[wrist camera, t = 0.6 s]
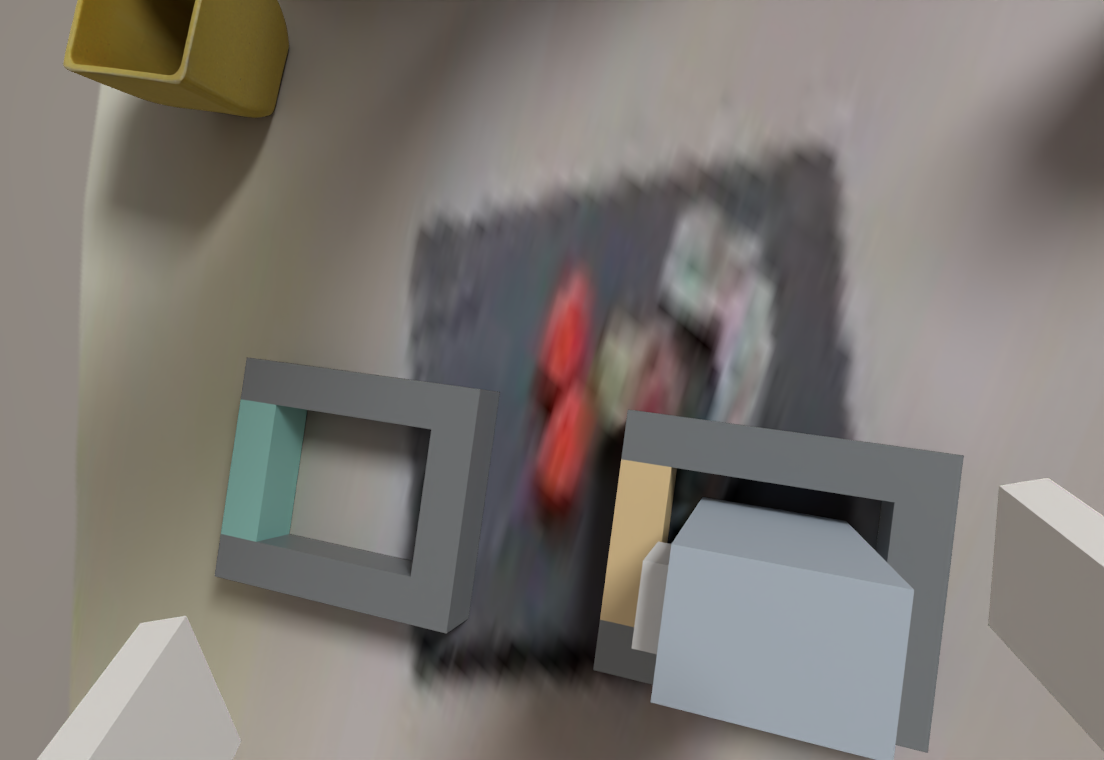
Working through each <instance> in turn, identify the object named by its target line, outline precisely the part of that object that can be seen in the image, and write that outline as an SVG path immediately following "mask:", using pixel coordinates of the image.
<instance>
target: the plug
mask: <svg viewBox="0 0 1104 760" xmlns="http://www.w3.org/2000/svg"><path fill="white" fill-rule="evenodd" d="M913 596H914V589H913V588H912V587H911V586H910V585H909V584H908V583H907V582H906V581H905V580H904V579H903V578H902V577H901V576H900V575H899V574H898V573H897V572H896V571H895V570H894V569H893V568H892V567H891V566H890V565H889V564H888V563H887V562H886V561H885V560H884V559H883V558H882V557H881V556H880V555H879V554H878V553H877V552H876V551H875V550H874V549H873V548H872V547H871V546H870V545H869V544H868V543H867V542H866V541H865V540H864V539H863V538H862V537H861V536H860V535H859V534H858V533H857V532H856V531H855V530H854V529H853V528H852V527H851V526H850V525H849V524H848V523H847V522H846V521H844V520H838V519H832V518H826V517H820V516H814V515H808V514H802V513H796V512H791V511H785V510H779V509H773V508H767V507H761V506H755V505H749V504H743V503H737V502H731V501H725V500H719V499H713V498H707V497H702V499H701V500H700V502H699V503H698V505H697V506H696V508H695V509H694V511H693V512H692V514H691V515H690V517H689V518H688V520H687V521H686V523H685V524H684V526H683V527H682V529H681V530H680V532H679V533H678V535H677V536H676V538H675V539H674V541H673V542H672V544H669V543H663V542H657V543H656V545H655V546H654V547H653V548H652V550H651V551H650V552H649V554H648V555H647V556H646V557H645V559H644V560H643V564H642V572H641V580H640V587H639V595H638V602H637V610H636V618H635V625H634V633H633V640H632V649H636V650H640V651H645V652H649V653H653V654H657V658H656V665H655V673H654V680H653V688H652V696H651V703H655V704H659V705H663V706H667V707H671V708H675V709H679V710H683V711H687V712H691V713H695V714H699V715H702V716H706V717H710V718H714V719H718V720H722V721H726V722H730V723H734V724H738V725H742V726H746V727H750V728H753V729H757V730H761V731H765V732H769V733H773V734H777V735H781V736H785V737H789V738H793V739H797V740H801V741H804V742H808V743H812V744H816V745H820V746H824V747H828V748H832V749H836V750H840V751H844V752H848V753H852V754H855V755H859V756H863V757H867V758H871V759H875V760H894V752H895V744H896V736H897V727H898V719H899V711H900V703H901V695H902V686H903V678H904V670H905V662H906V654H907V645H908V637H909V629H910V621H911V613H912V604H913Z"/></svg>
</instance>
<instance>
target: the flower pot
mask: <svg viewBox="0 0 1104 760" xmlns="http://www.w3.org/2000/svg"><path fill="white" fill-rule="evenodd" d="M288 48H289V40H288V33H287V28H286V23H285V19H284V16H283V13H282V10H281V8H280V5H279V3H278V1H277V0H78V1H77V5H76V9H75V13H74V18H73V22H72V26H71V30H70V35H69V39H68V43H67V47H66V52H65V58H64V67H65V68H66V69H67V70H69V71H72V72H74V73H77V74H79V75H82V76H84V77H87V78H89V79H92V80H94V81H97V82H99V83H102V84H104V85H107V86H110V87H112V88H115V89H117V90H120V91H122V92H125V93H128V94H130V95H133V96H136V97H138V98H141V99H144V100H147V101H150V102H154V103H158V104H162V105H167V106H173V107H179V108H187V109H196V110H204V111H211V112H219V113H226V114H233V115H239V116H244V117H254V118H257V117H264V116H268V115H271V114H272V112H273V111H274V108H275V104H276V99H277V95H278V91H279V86H280V82H281V77H282V73H283V69H284V65H285V61H286V57H287V53H288Z"/></svg>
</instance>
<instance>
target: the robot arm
mask: <svg viewBox="0 0 1104 760" xmlns="http://www.w3.org/2000/svg"><path fill="white" fill-rule="evenodd" d="M988 625H989V626H990V627H991V629H992V630H993V631H994V632H995V633H996V634H997V635H998V636H999V637H1000V638H1001V640H1002V641H1003V642H1004V643H1005V644H1006V645H1007V646H1008V647H1009V648H1010V649H1011V651H1012V652H1013V653H1014V654H1015V655H1016V656H1017V657H1018V658H1019V659H1020V660H1021V661H1022V663H1023V664H1024V665H1025V666H1026V667H1027V668H1028V669H1029V670H1030V671H1031V672H1032V674H1033V675H1034V676H1035V677H1036V678H1037V679H1038V680H1039V681H1040V682H1041V683H1042V685H1043V686H1044V687H1045V688H1046V689H1047V690H1048V691H1049V692H1050V693H1051V694H1052V695H1053V697H1054V698H1055V699H1056V700H1057V701H1058V702H1059V703H1060V704H1061V705H1062V706H1063V708H1064V709H1065V710H1066V711H1067V712H1068V713H1069V714H1070V715H1071V716H1072V717H1073V719H1074V720H1075V721H1076V722H1077V723H1078V724H1079V725H1080V726H1081V727H1082V728H1083V729H1084V731H1085V732H1086V733H1087V734H1088V735H1089V736H1090V737H1091V738H1092V739H1093V740H1094V742H1095V743H1096V744H1097V745H1098V746H1099V747H1100V748H1101V749H1102V750H1103V751H1104V516H1103V515H1101V514H1100V513H1098V512H1097V511H1095V510H1094V509H1092V508H1091V507H1090V506H1088V505H1087V504H1085V503H1084V502H1082V501H1081V500H1079V499H1078V498H1076V497H1075V496H1074V495H1072V494H1071V493H1069V492H1068V491H1066V490H1065V489H1063V488H1062V487H1061V486H1059V485H1058V484H1056V483H1055V482H1053V481H1052V480H1050V479H1049V478H1044V479H1038V480H1031V481H1025V482H1019V483H1013V484H1006V485H1000V486H999V494H998V507H997V520H996V532H995V545H994V558H993V571H992V583H991V596H990V609H989V621H988ZM240 743H241V739H240V737H239V735H238V733H237V730H236V728H235V726H234V723H233V721H232V719H231V717H230V714H229V712H228V710H227V707H226V705H225V703H224V700H223V698H222V696H221V694H220V691H219V689H218V687H217V684H216V682H215V680H214V678H213V675H212V673H211V671H210V668H209V666H208V664H207V662H206V659H205V657H204V655H203V652H202V650H201V648H200V645H199V643H198V641H197V639H196V636H195V634H194V632H193V629H192V627H191V625H190V623H189V620H188V618H187V616H182V617H175V618H169V619H163V620H157V621H150V622H144V623H140V624H139V626H138V627H137V628H136V630H135V631H134V632H133V634H132V635H131V636H130V638H129V639H128V640H127V641H126V643H125V644H124V645H123V647H122V648H121V649H120V651H119V652H118V653H117V655H116V656H115V657H114V659H113V660H112V661H111V663H110V664H109V665H108V666H107V668H106V669H105V670H104V672H103V673H102V674H101V676H100V677H99V678H98V680H97V681H96V682H95V684H94V685H93V686H92V688H91V689H90V690H89V692H88V693H87V694H86V695H85V697H84V698H83V699H82V701H81V702H80V703H79V705H78V706H77V707H76V709H75V710H74V711H73V713H72V714H71V715H70V717H69V718H68V719H67V721H66V722H65V723H64V725H63V726H62V727H61V729H60V730H59V731H58V733H57V734H56V735H55V736H54V738H53V739H52V740H51V742H50V743H49V745H48V746H47V747H46V748H45V750H44V751H43V752H42V754H41V755H40V756H39V757H38V759H37V760H233V758H234V756H235V754H236V751H237V749H238V747H239V745H240Z"/></svg>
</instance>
